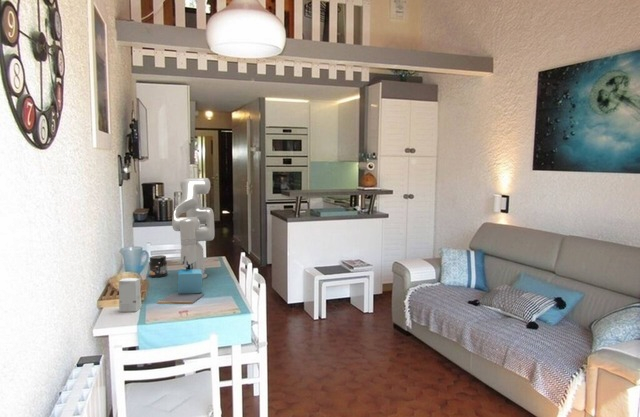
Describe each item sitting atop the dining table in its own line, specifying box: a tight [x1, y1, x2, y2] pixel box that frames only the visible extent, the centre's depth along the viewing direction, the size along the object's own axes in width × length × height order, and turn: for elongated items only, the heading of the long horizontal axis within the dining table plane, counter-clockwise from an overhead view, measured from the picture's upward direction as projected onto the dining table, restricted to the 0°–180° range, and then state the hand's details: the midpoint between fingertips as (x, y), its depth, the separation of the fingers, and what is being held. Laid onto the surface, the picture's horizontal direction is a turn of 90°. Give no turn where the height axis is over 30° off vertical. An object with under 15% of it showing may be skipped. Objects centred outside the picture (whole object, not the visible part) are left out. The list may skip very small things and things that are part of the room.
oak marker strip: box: [156, 300, 194, 305], centre depth 220 cm, size 1×18×1 cm, turn 83°
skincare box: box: [118, 277, 142, 313], centre depth 211 cm, size 8×6×15 cm
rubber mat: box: [159, 293, 205, 304], centre depth 227 cm, size 14×18×1 cm
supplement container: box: [148, 254, 169, 279], centre depth 278 cm, size 10×10×12 cm
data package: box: [177, 269, 203, 294], centre depth 235 cm, size 12×4×12 cm, turn 108°
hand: (190, 276), depth 238 cm, fingers closed
